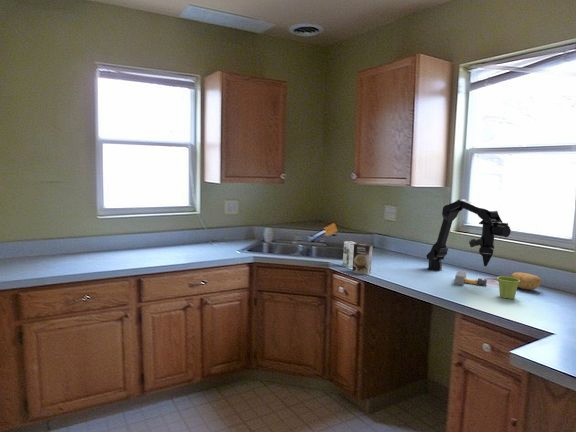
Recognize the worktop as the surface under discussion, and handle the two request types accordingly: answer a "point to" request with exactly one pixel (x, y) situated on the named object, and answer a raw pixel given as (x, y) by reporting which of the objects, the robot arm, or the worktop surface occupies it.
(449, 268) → the worktop surface
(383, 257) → the worktop surface
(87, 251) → the worktop surface
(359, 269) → the coffee box
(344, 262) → the syrup box
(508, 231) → the robot arm
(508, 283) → the plant pot
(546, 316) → the worktop surface
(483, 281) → the plug
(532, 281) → the potato
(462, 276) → the housing
